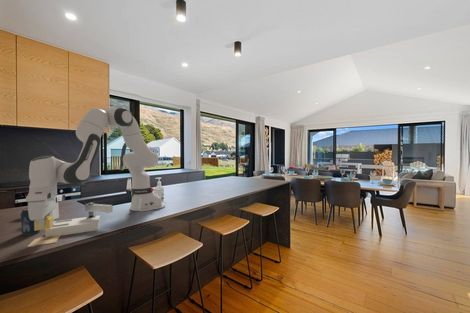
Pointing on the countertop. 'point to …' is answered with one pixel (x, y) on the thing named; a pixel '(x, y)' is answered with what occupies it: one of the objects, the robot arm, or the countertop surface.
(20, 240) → the countertop surface
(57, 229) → the latch box
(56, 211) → the jar
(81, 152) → the robot arm
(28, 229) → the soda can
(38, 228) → the snap cover
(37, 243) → the cork pad
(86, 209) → the t key
